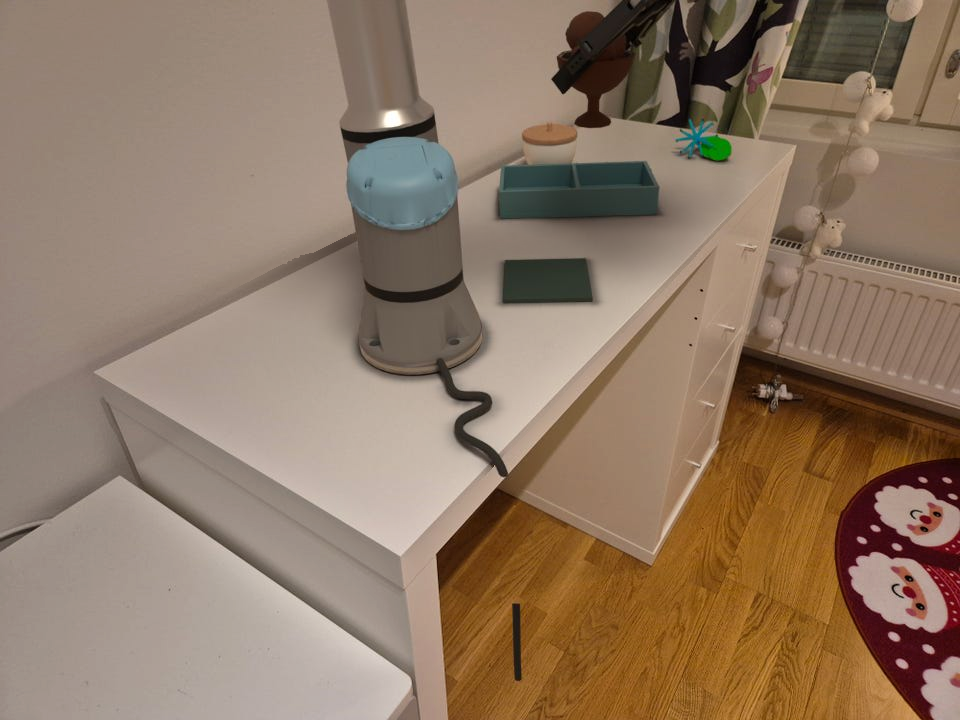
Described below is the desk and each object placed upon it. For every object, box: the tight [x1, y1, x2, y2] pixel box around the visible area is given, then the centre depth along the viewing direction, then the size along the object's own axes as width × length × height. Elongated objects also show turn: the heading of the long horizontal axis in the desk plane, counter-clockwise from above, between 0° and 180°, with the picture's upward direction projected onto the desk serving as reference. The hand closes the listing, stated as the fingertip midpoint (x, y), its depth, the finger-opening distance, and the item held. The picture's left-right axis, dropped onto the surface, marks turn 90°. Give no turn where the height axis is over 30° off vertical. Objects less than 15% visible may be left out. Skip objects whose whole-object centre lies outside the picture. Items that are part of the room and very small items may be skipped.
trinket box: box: [521, 122, 578, 165], centre depth 129 cm, size 11×11×9 cm
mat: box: [502, 257, 594, 304], centre depth 93 cm, size 12×12×1 cm
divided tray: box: [498, 160, 660, 220], centre depth 116 cm, size 14×26×5 cm, turn 87°
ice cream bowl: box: [556, 10, 636, 129], centre depth 94 cm, size 11×11×15 cm
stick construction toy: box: [674, 118, 733, 162], centre depth 134 cm, size 12×7×8 cm
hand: (576, 78), depth 96 cm, fingers closed on ice cream bowl, 11 cm apart
